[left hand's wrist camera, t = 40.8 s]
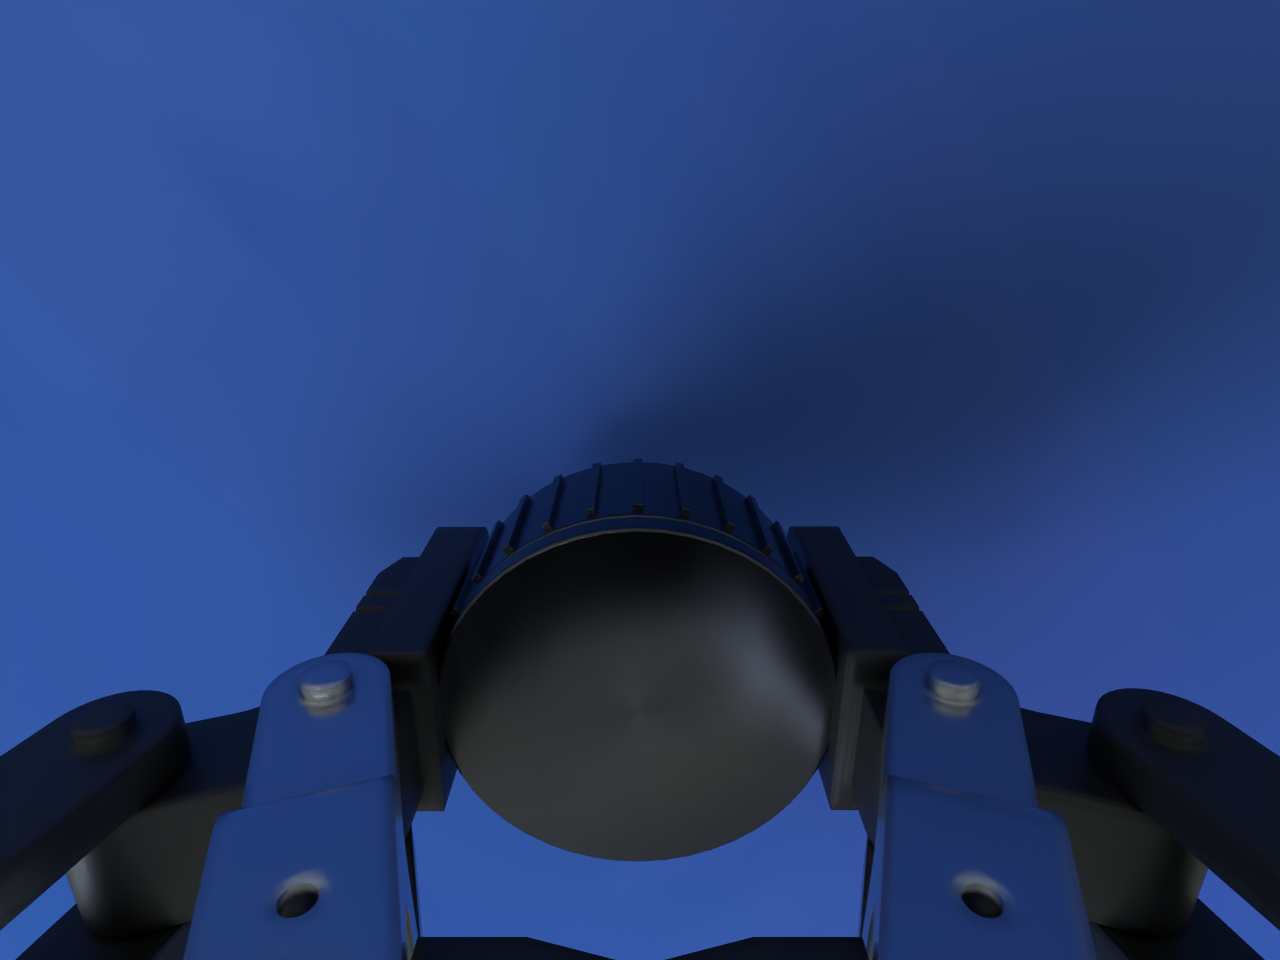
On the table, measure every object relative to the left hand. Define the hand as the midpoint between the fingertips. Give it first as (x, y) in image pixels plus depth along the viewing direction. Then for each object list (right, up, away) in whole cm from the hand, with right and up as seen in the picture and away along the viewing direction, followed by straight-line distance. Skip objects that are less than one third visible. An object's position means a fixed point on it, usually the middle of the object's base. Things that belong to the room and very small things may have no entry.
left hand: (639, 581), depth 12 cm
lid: (0, -1, -3) cm, 3 cm away
